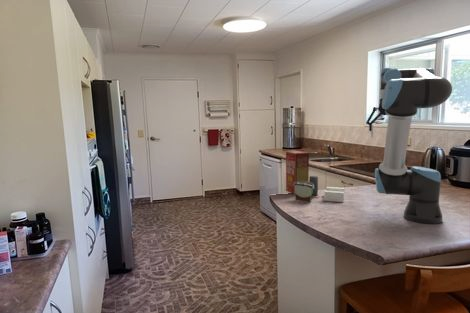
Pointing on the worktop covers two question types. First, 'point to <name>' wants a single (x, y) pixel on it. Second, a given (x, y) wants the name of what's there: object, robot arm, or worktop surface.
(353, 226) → the worktop surface
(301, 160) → the food packaging
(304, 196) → the food container
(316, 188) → the dark gray rounded peg
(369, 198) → the worktop surface
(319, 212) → the worktop surface
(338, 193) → the socket block
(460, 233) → the worktop surface
